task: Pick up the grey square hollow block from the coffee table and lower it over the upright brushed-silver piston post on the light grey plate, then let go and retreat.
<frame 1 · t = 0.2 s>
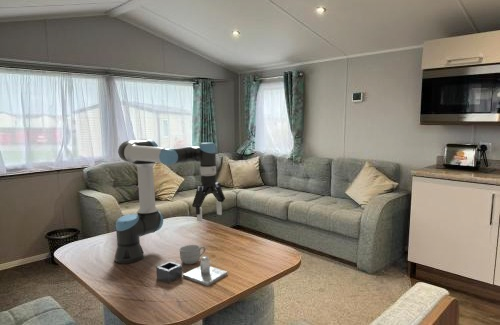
hand: (209, 217, 165), 27 cm above the table, fingers open, 13 cm apart
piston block: (205, 275, 162), on the table
grey square hollow block: (169, 277, 161), on the table
teacup: (193, 262, 179), on the table
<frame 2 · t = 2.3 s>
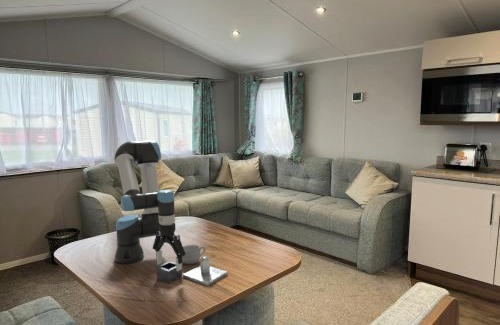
hand: (169, 266, 160), 6 cm above the table, fingers open, 13 cm apart
nothing on the table moved.
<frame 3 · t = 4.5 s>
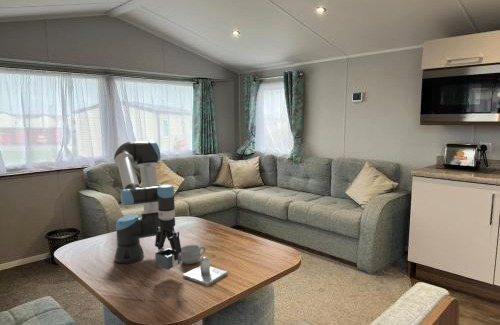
hand: (168, 263, 161), 7 cm above the table, fingers closed on grey square hollow block, 8 cm apart
grey square hollow block: (168, 264, 161), point 7 cm above the table, touching gripper
everything else where it was.
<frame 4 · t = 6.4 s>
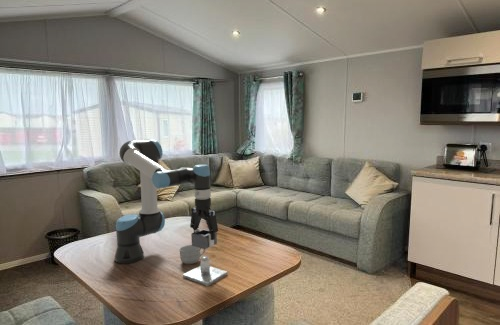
hand: (204, 244, 160), 16 cm above the table, fingers closed on grey square hollow block, 8 cm apart
grey square hollow block: (204, 244, 160), point 16 cm above the table, touching gripper
everything else where it was.
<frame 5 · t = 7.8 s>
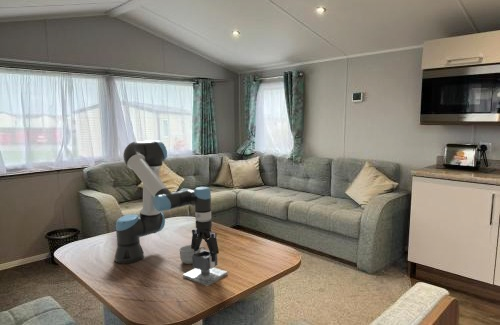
hand: (205, 265, 162), 5 cm above the table, fingers closed on grey square hollow block, 8 cm apart
grey square hollow block: (205, 266, 162), point 5 cm above the table, touching gripper
everything else where it was.
when the fingers open (3 cm above the table, at t = 8.7 s): grey square hollow block drops 1 cm, resting on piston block.
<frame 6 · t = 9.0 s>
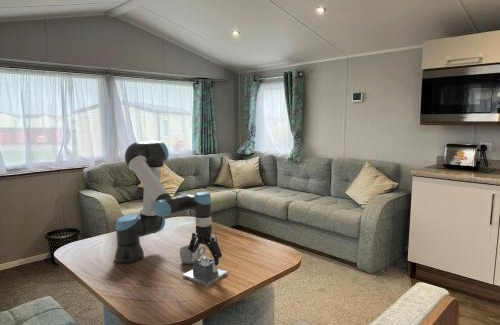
hand: (205, 268, 162), 4 cm above the table, fingers open, 12 cm apart
grey square hollow block: (205, 273, 162), point 1 cm above the table, touching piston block
everything else where it was.
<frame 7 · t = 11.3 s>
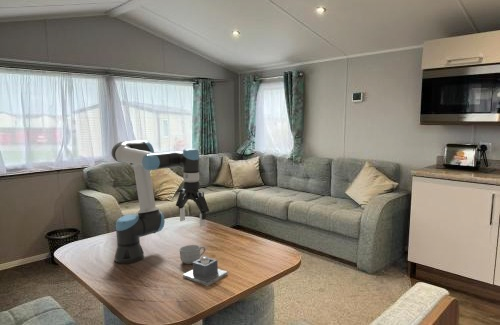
hand: (192, 223, 165), 25 cm above the table, fingers open, 13 cm apart
nothing on the table moved.
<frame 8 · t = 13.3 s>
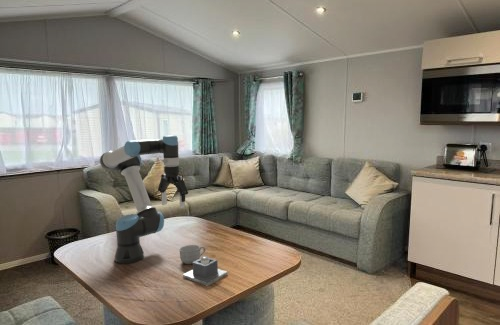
hand: (173, 206, 175), 31 cm above the table, fingers open, 13 cm apart
nothing on the table moved.
at the end: grey square hollow block 0.1 cm off-centre on the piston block, point 1.5 cm above the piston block's base; grey square hollow block tilted 0°; the gripper is holding nothing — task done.
